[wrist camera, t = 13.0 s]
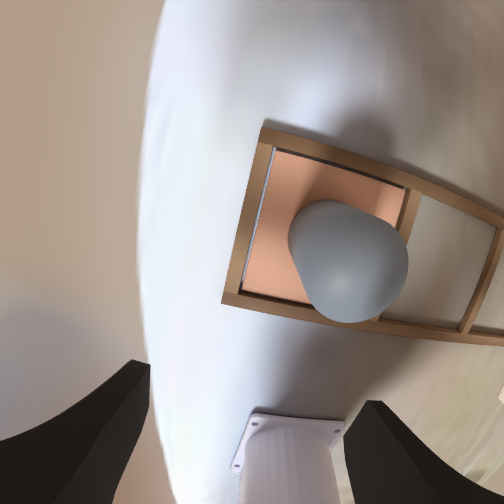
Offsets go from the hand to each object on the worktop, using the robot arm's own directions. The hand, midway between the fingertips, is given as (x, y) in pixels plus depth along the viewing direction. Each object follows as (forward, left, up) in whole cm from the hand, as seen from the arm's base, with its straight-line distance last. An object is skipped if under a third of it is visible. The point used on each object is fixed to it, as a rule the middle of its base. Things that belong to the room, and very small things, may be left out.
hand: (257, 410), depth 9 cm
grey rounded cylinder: (+4, -3, -9) cm, 10 cm away
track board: (+4, -12, -9) cm, 16 cm away
